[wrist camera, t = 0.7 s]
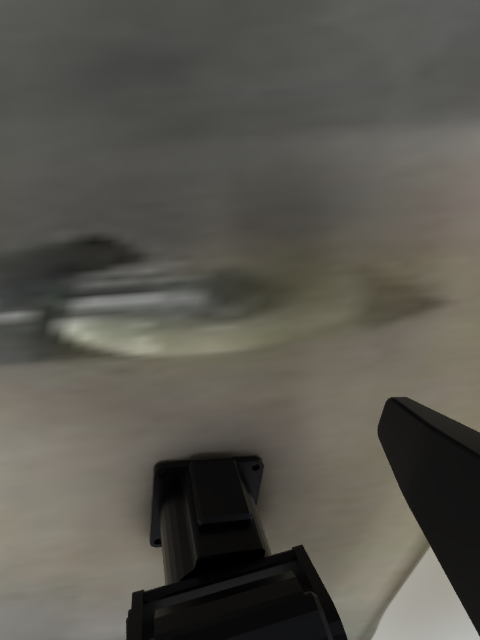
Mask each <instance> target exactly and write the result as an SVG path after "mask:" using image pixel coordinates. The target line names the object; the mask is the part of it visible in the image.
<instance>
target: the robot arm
mask: <svg viewBox="0 0 480 640" xmlns="http://www.w3.org/2000/svg"><path fill="white" fill-rule="evenodd" d="M377 431H378V437H379V440H380V442H381V445H382V447H383V449H384V452H385V454H386V456H387V459H388V461H389V463H390V466H391V468H392V470H393V473H394V475H395V478H396V480H397V482H398V485H399V487H400V489H401V491H402V493H403V496H404V498H405V500H406V502H407V504H408V506H409V507H410V509H411V511H412V513H413V515H414V517H415V518H416V520H417V522H418V524H419V526H420V528H421V529H422V531H423V533H424V535H425V537H426V539H427V541H428V542H429V544H430V546H431V548H432V550H433V551H434V553H435V555H436V557H437V559H438V561H439V562H440V564H441V566H442V568H443V570H444V572H445V574H446V575H447V577H448V579H449V581H450V583H451V585H452V586H453V588H454V590H455V592H456V594H457V595H458V597H459V599H460V601H461V603H462V605H463V606H464V608H465V610H466V612H467V614H468V616H469V618H470V619H471V621H472V623H473V625H474V627H475V628H476V630H477V632H478V634H479V636H480V433H479V432H477V431H475V430H473V429H471V428H469V427H467V426H465V425H463V424H461V423H459V422H457V421H455V420H453V419H451V418H449V417H446V416H444V415H442V414H440V413H438V412H436V411H434V410H432V409H430V408H428V407H426V406H424V405H422V404H420V403H418V402H416V401H413V400H411V399H409V398H407V397H391V398H389V399H388V400H387V401H386V403H385V405H384V409H383V412H382V415H381V418H380V421H379V424H378V430H377ZM256 464H257V465H256ZM253 465H255V466H253ZM263 468H264V465H263V462H262V460H261V458H259V457H241V458H227V459H213V460H199V461H184V462H170V463H161V464H158V465H156V466H155V468H154V470H153V487H152V504H151V521H150V545H151V546H153V547H162V553H163V563H164V574H165V586H162V587H158V588H155V589H151V590H148V591H144V590H140V591H137V592H133V593H132V607H131V609H130V610H129V611H128V618H127V619H126V636H127V639H126V640H347V636H346V633H345V630H344V628H343V625H342V622H341V619H340V617H339V615H338V612H337V610H336V608H335V606H334V603H333V601H332V599H331V598H330V596H329V594H328V592H327V590H326V588H325V586H324V584H323V583H322V581H321V579H320V577H319V575H318V573H317V571H316V570H315V568H314V566H313V564H312V562H311V560H310V558H309V556H308V555H307V553H306V551H305V549H304V547H303V545H299V546H295V547H292V550H288V551H285V552H281V553H278V554H274V555H272V554H271V551H270V548H269V545H268V542H267V539H266V535H265V532H264V529H263V526H262V523H261V520H260V517H259V514H258V511H257V508H256V504H257V498H258V493H259V488H260V483H261V478H262V473H263ZM163 471H164V473H160V472H163Z"/></svg>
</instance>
